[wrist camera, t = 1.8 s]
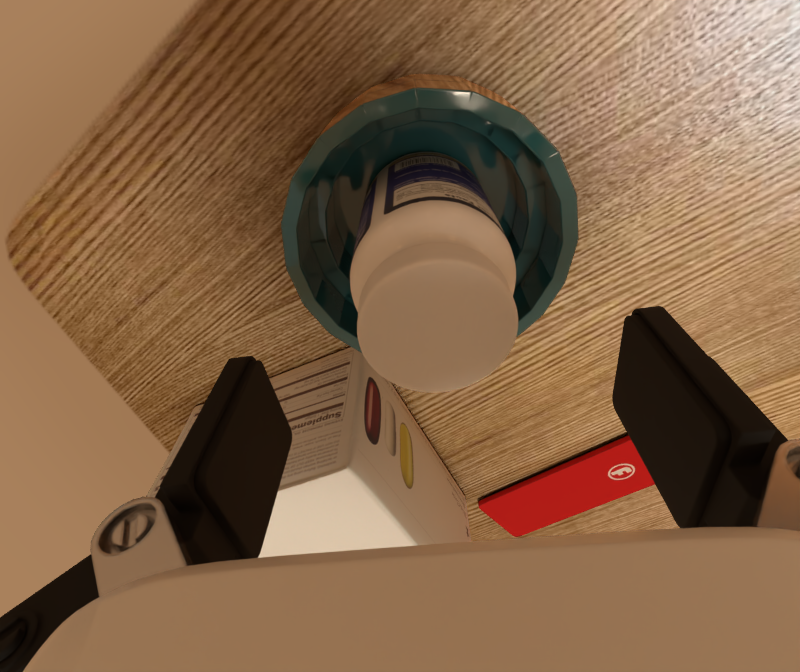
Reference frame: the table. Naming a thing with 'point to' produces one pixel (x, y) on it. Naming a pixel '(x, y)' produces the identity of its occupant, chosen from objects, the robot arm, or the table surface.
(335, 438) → the supplement box
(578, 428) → the table surface
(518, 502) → the electronic device
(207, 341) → the table surface
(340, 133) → the teal bowl
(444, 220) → the pill bottle
